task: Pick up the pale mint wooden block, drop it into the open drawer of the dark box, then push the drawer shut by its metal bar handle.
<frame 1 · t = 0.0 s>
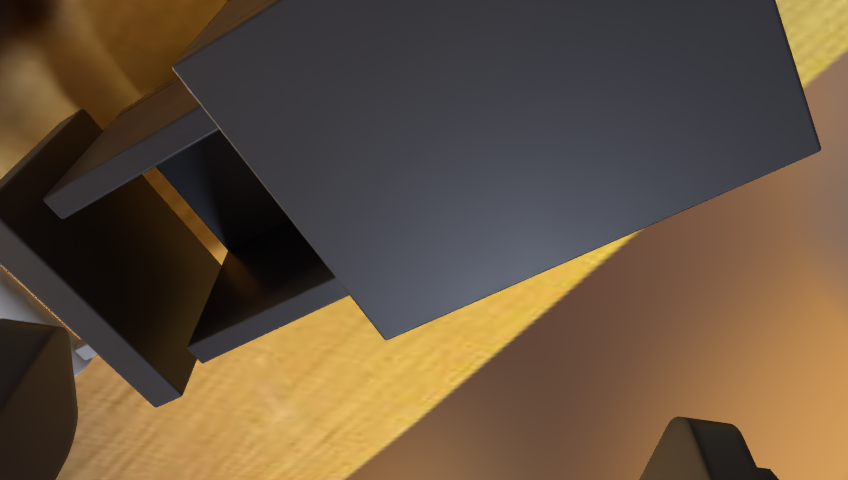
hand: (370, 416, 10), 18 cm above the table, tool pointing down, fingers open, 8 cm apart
drawer: (187, 216, 24), point 4 cm above the table, slide at 7.5 cm
dark box: (484, 9, 25), on the table
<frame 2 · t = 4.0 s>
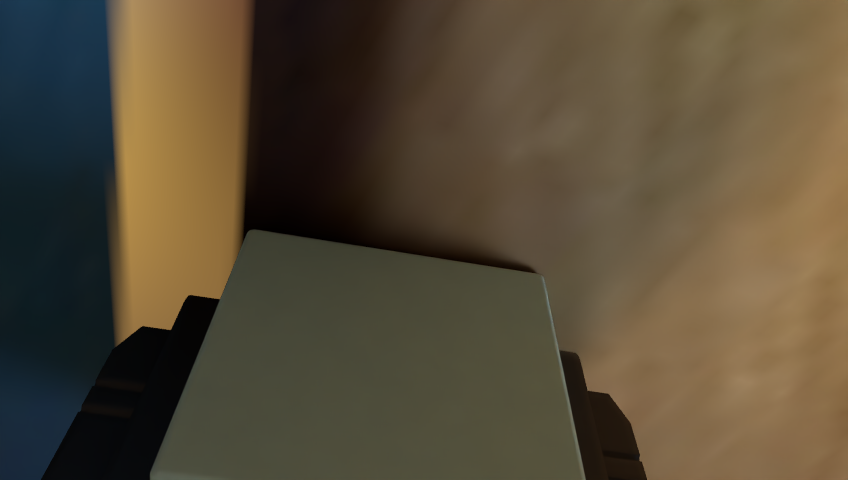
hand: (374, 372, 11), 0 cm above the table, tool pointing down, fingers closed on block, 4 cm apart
block: (377, 359, 11), on the table, touching gripper
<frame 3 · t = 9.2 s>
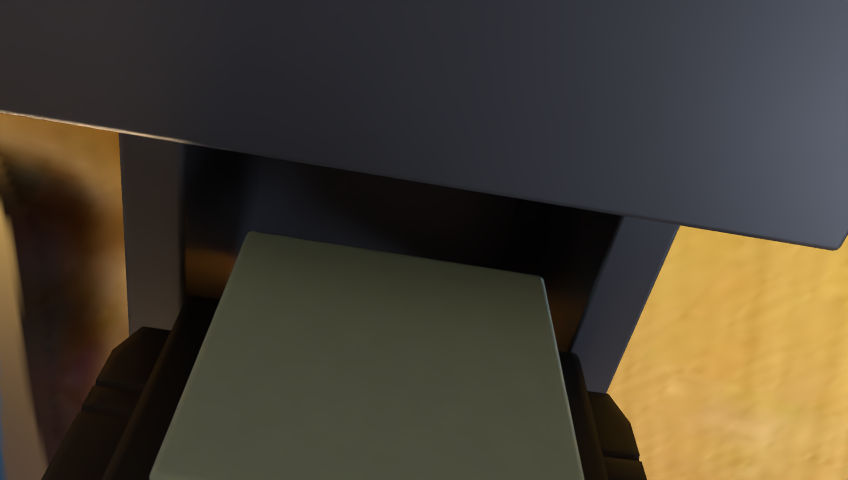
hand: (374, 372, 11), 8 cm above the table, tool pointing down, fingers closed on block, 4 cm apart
block: (377, 361, 11), point 7 cm above the table, touching gripper
drawer: (374, 304, 14), point 4 cm above the table, slide at 7.5 cm, touching gripper
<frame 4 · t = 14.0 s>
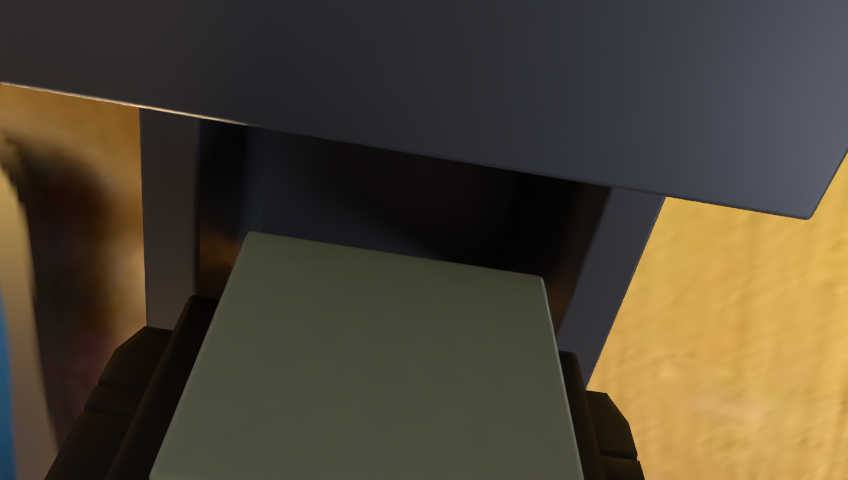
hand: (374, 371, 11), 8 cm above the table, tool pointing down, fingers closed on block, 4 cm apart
block: (377, 361, 11), point 8 cm above the table, touching gripper
drawer: (376, 288, 15), point 4 cm above the table, slide at 7.6 cm
when the fingers open (9 cm above the table, at t = 18.4 s): block drops 7 cm, resting on drawer.
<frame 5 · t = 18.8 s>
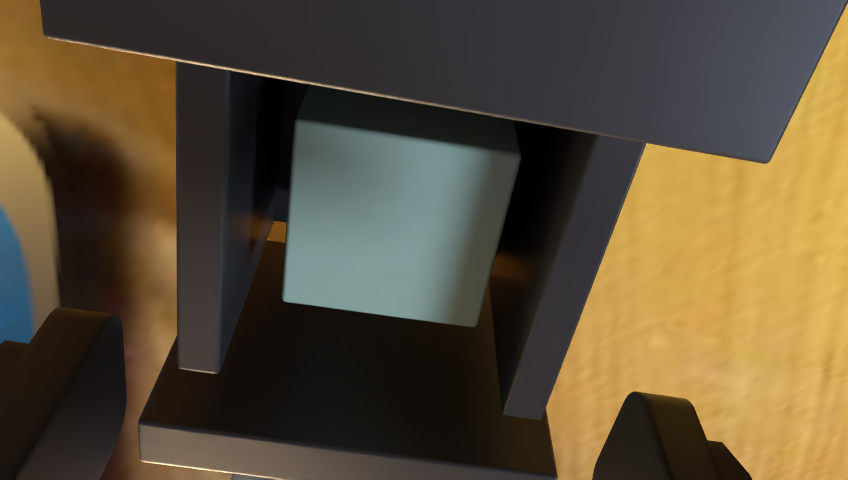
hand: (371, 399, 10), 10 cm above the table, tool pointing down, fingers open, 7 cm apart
block: (402, 141, 17), point 2 cm above the table, touching drawer
drawer: (382, 252, 16), point 4 cm above the table, slide at 7.7 cm, touching block
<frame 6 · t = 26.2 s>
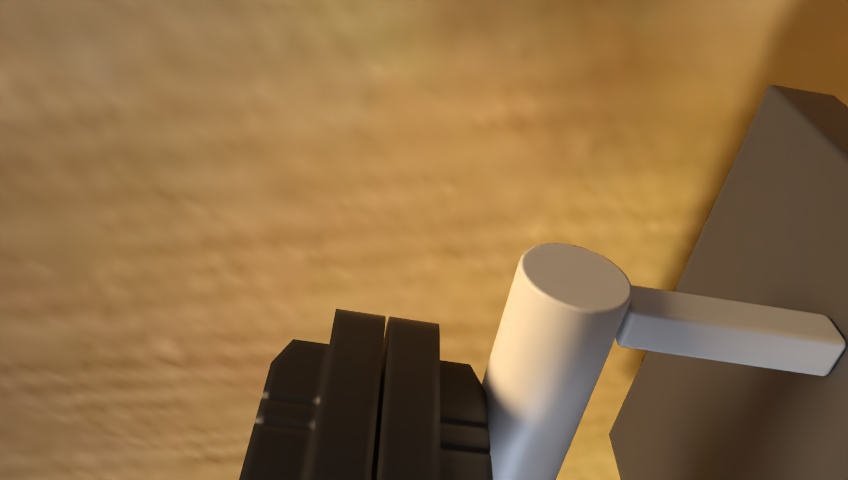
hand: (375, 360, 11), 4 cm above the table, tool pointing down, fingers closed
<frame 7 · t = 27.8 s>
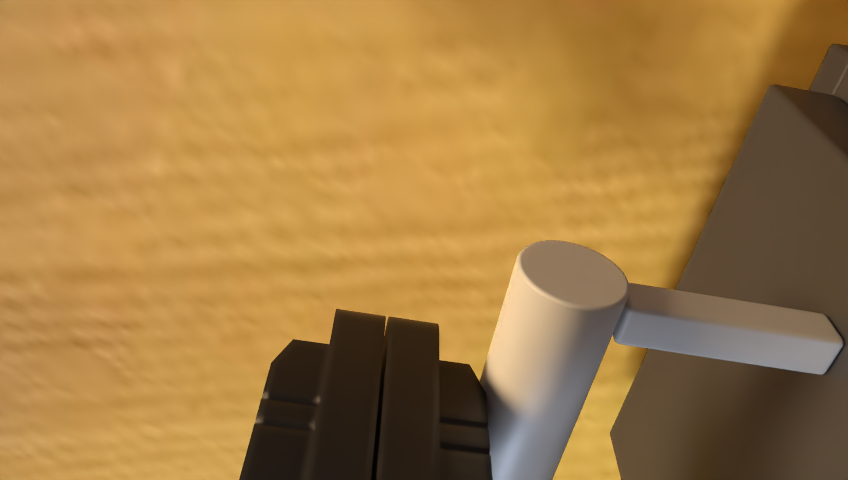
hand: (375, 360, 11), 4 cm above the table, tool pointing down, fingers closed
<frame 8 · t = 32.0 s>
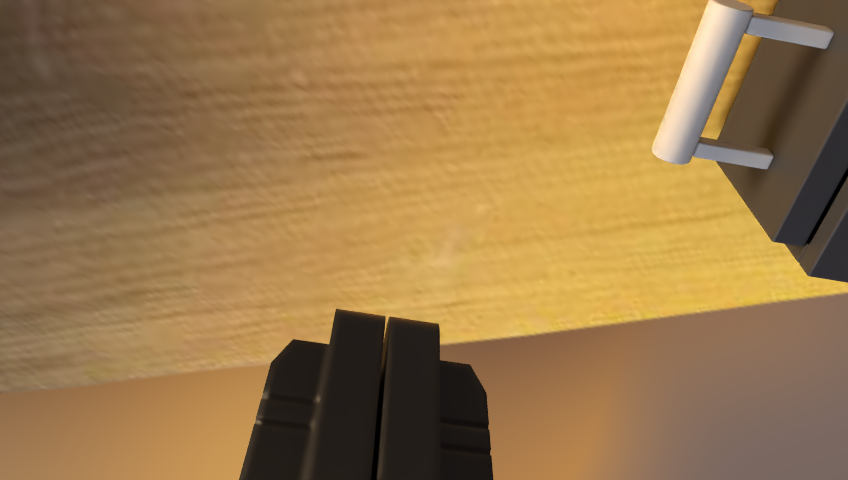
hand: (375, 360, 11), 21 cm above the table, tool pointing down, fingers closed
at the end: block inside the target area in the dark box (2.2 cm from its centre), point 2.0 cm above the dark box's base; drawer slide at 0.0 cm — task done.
